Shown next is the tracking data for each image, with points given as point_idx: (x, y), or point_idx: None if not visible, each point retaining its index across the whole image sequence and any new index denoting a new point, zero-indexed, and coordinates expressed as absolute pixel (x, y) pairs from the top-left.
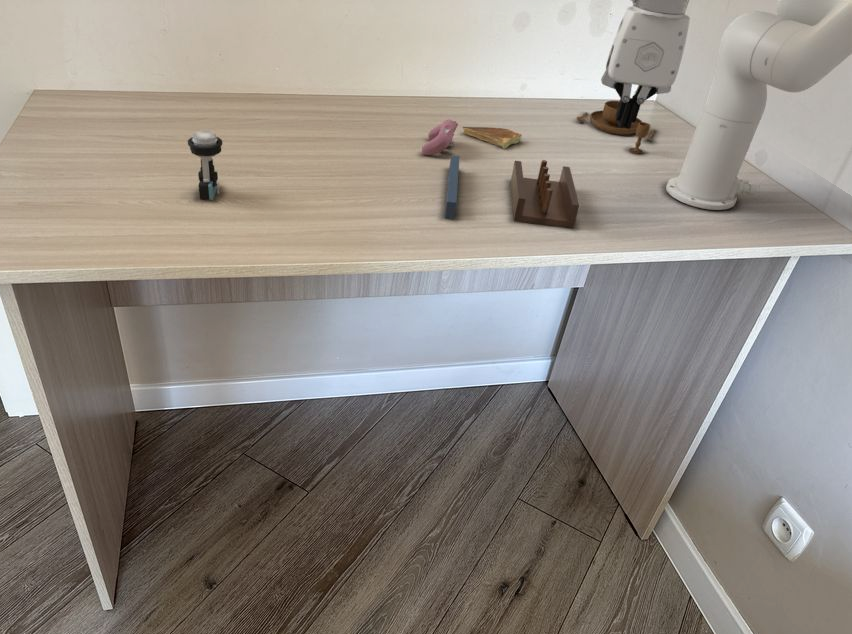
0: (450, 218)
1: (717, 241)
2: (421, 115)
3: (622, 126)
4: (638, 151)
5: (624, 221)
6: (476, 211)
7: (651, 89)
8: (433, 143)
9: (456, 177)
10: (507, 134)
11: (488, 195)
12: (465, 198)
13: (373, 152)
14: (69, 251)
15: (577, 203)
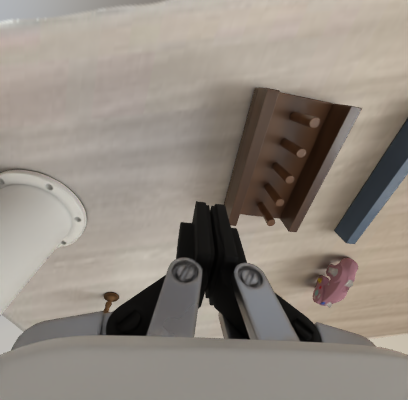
0: None
1: (13, 57)
2: None
3: (220, 204)
4: (108, 295)
5: (165, 121)
6: (371, 131)
7: (138, 330)
8: (354, 267)
9: (388, 187)
10: None
11: (329, 178)
12: (363, 167)
13: (398, 256)
14: None
15: (268, 95)
